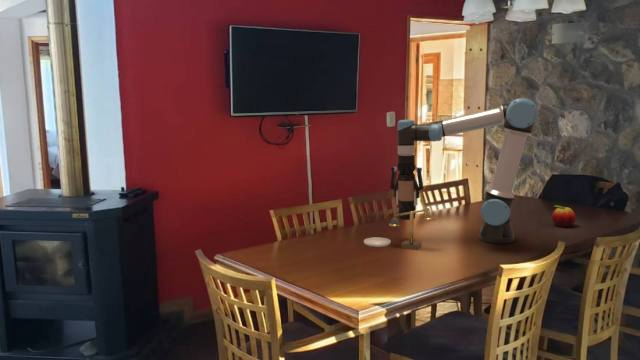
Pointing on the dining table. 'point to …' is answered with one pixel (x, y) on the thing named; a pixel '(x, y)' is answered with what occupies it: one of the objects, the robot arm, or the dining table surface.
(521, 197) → the dining table surface
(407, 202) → the travel mug
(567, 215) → the fruit
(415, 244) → the balance
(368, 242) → the cream round disc
